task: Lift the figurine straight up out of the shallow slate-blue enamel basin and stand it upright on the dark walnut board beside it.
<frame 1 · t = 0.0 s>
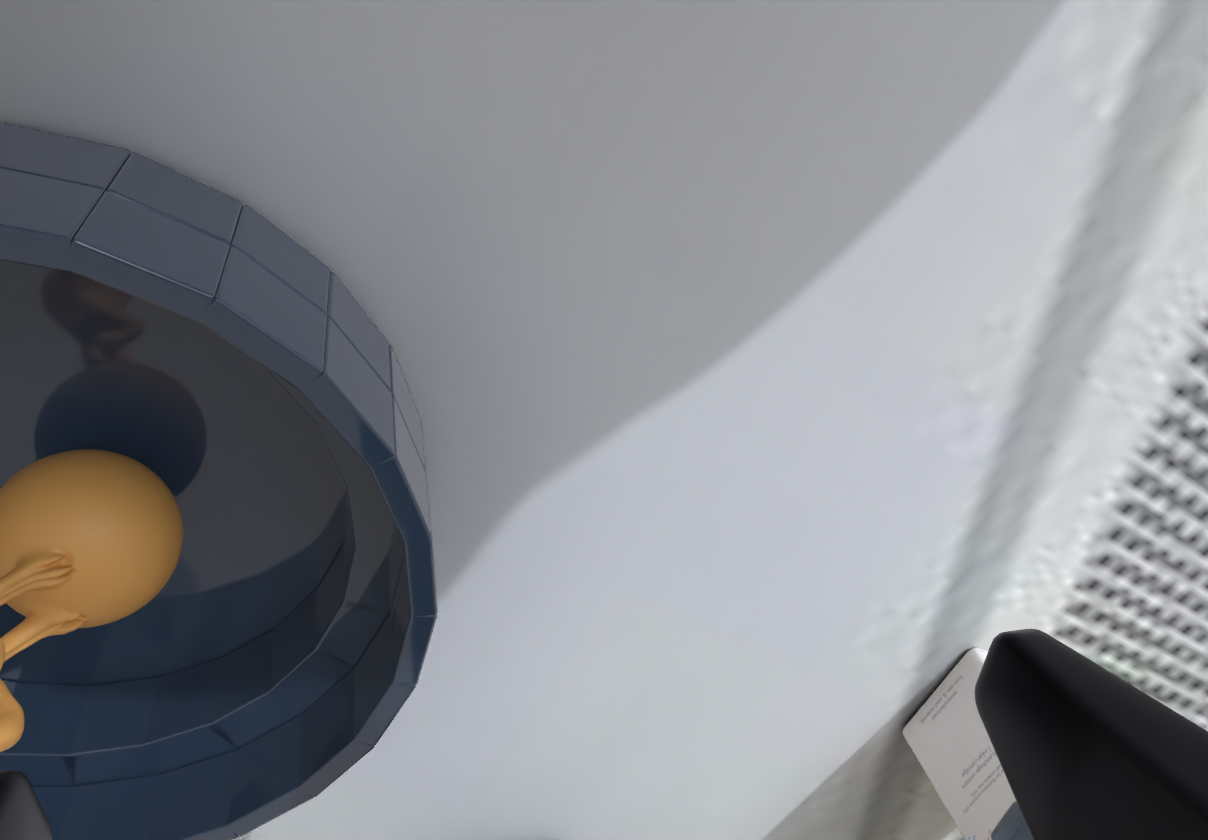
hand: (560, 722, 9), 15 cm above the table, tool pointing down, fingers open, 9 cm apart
figurine: (61, 480, 22), resting in basin
ink box: (1005, 700, 37), on the table
basin: (62, 477, 22), on the table
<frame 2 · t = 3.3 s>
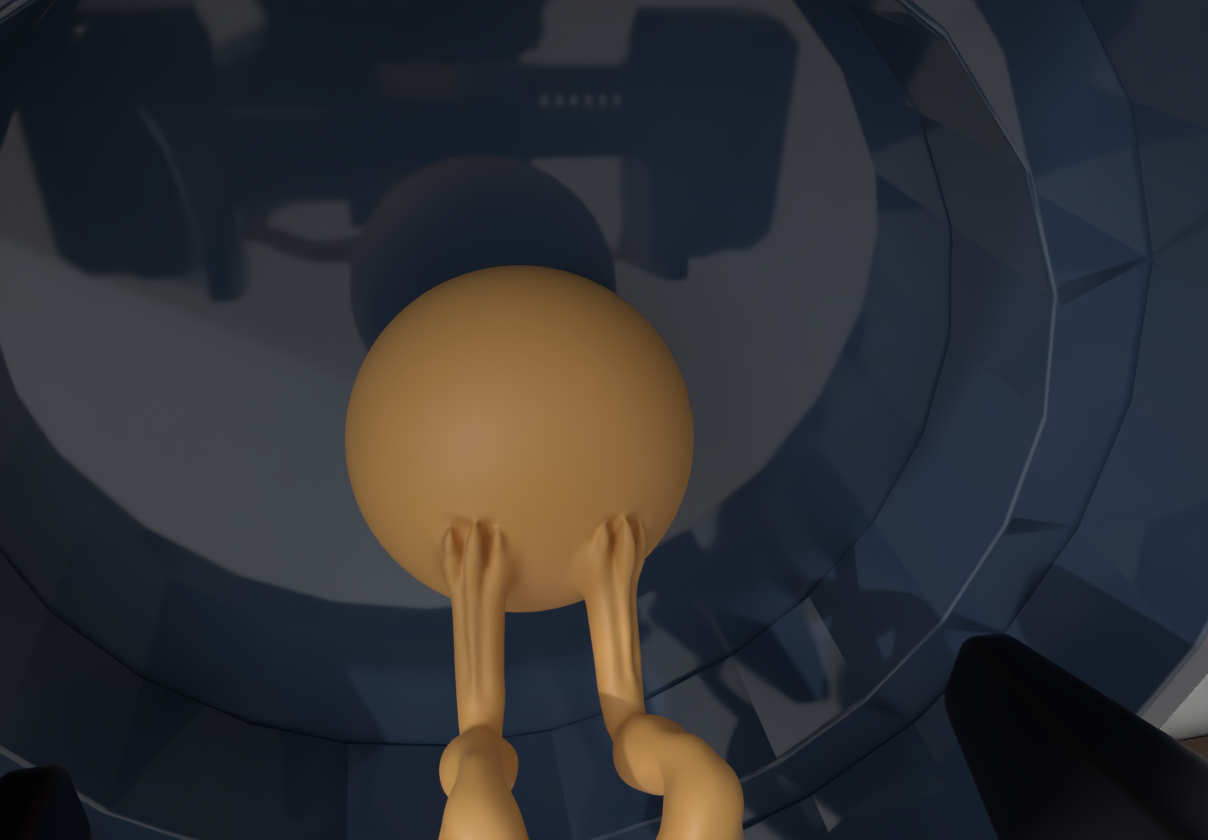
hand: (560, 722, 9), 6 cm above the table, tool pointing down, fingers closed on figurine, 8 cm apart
figurine: (493, 411, 13), resting in basin, touching gripper
basin: (493, 407, 13), on the table
when the fingers open (6 cm above the table, at t = 8.9 s): figurine stays where it is, resting on walnut board.
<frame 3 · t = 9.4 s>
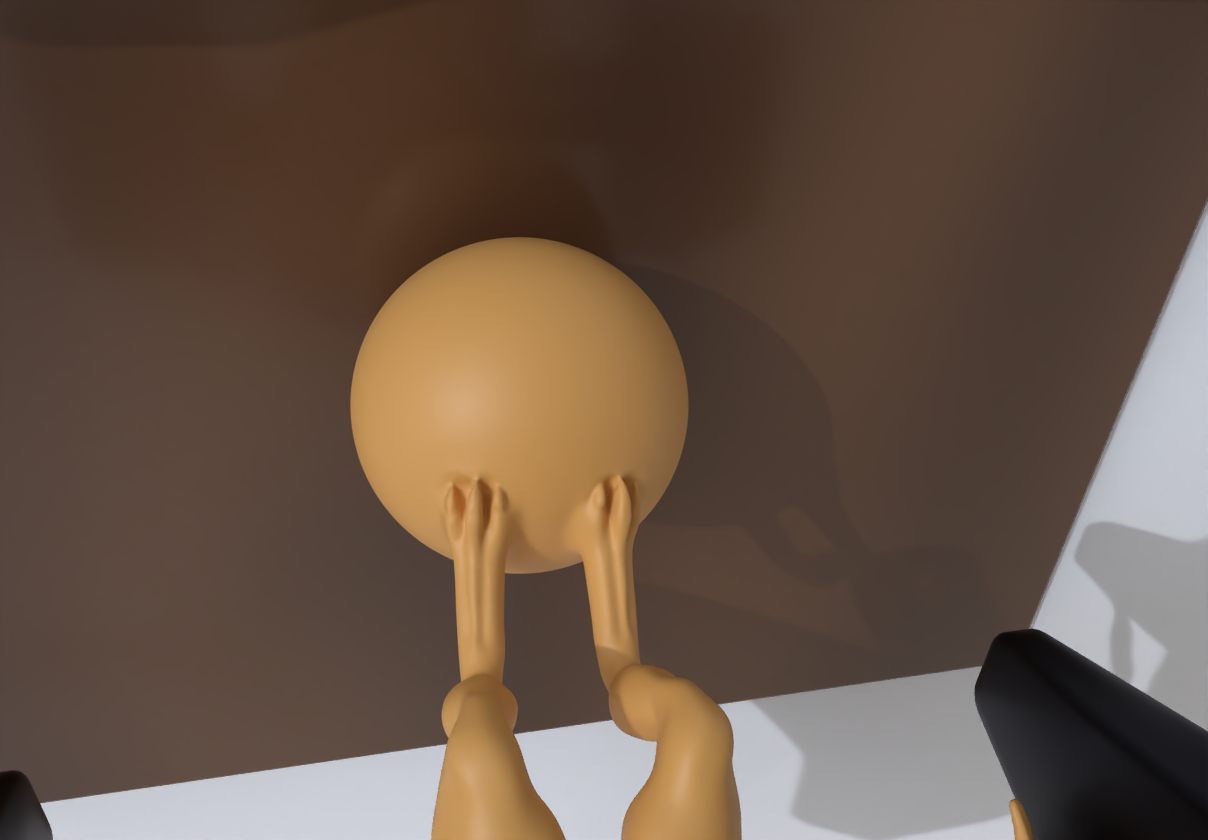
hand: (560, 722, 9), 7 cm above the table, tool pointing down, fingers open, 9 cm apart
figurine: (494, 386, 13), point 1 cm above the table, touching walnut board
walnut board: (551, 422, 15), on the table
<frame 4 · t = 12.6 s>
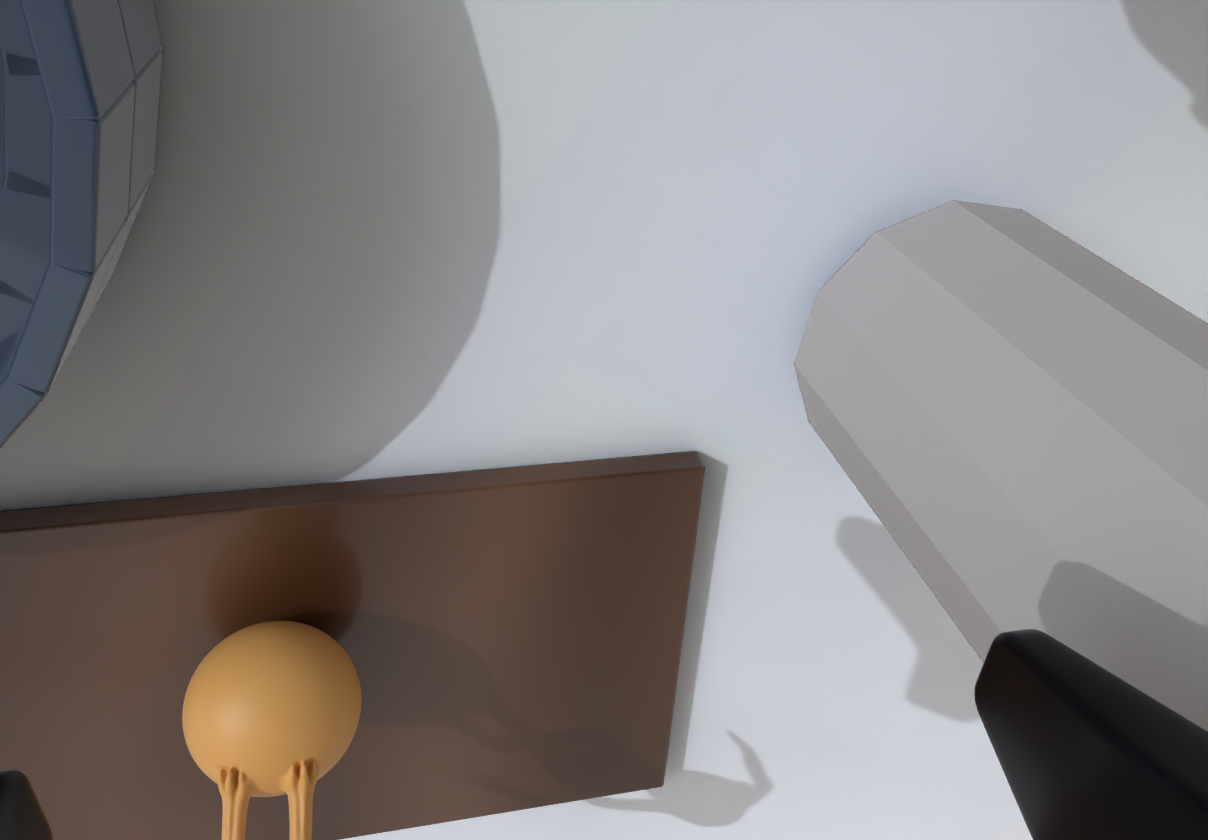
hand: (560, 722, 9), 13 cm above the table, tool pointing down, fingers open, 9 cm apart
figurine: (283, 666, 24), point 1 cm above the table, touching walnut board
walnut board: (326, 673, 25), on the table
water bottle: (925, 347, 24), on the table
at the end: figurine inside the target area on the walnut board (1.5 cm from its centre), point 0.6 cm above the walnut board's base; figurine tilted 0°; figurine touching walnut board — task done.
